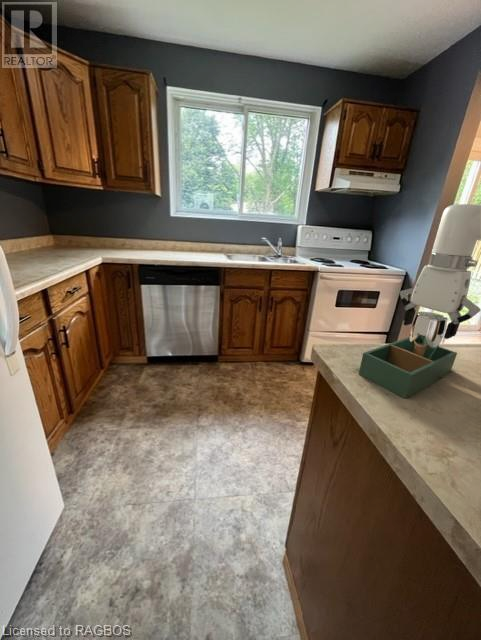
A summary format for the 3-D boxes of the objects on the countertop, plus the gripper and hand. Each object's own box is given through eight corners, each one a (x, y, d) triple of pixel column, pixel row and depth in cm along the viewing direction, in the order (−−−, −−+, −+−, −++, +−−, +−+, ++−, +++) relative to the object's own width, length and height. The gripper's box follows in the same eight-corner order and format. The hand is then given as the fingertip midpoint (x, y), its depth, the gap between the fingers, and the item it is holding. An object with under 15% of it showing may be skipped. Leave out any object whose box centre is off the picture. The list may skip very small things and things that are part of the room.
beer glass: (413, 360, 77) (428, 310, 71) (437, 373, 71) (455, 319, 65) (395, 363, 74) (409, 312, 69) (418, 377, 68) (435, 321, 63)
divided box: (405, 354, 80) (410, 336, 78) (450, 373, 71) (457, 352, 69) (358, 373, 68) (363, 352, 66) (404, 398, 59) (412, 375, 57)
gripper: (501, 268, 58) (473, 341, 64) (417, 256, 71) (400, 318, 77) (489, 269, 54) (460, 347, 60) (402, 257, 68) (385, 321, 73)
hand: (426, 330), depth 69 cm, fingers open, 9 cm apart
